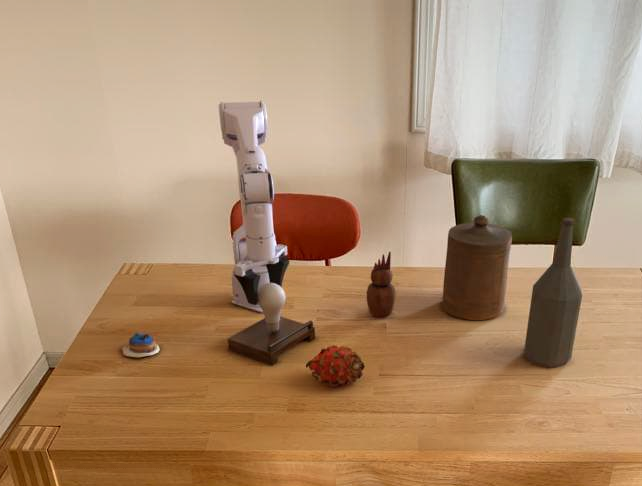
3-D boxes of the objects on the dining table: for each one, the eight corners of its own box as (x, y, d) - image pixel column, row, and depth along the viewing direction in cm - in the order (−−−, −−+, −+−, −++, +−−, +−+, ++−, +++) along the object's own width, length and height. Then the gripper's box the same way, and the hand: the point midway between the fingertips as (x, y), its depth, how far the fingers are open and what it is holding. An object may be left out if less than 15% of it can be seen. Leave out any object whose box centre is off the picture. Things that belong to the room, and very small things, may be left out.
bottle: (575, 352, 173) (600, 215, 155) (564, 372, 166) (589, 231, 148) (530, 342, 176) (549, 207, 159) (517, 361, 169) (535, 222, 151)
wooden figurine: (396, 309, 189) (398, 248, 180) (394, 320, 184) (395, 258, 175) (368, 308, 189) (368, 246, 180) (365, 318, 184) (365, 256, 175)
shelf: (228, 350, 171) (226, 331, 168) (273, 324, 181) (271, 307, 178) (271, 365, 166) (270, 346, 163) (315, 338, 176) (314, 320, 173)
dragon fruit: (368, 393, 160) (311, 395, 162) (370, 355, 163) (314, 358, 165) (359, 376, 152) (299, 378, 155) (361, 336, 155) (302, 339, 157)
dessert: (167, 348, 169) (148, 331, 164) (149, 372, 168) (129, 357, 164) (148, 337, 174) (129, 321, 169) (130, 361, 173) (111, 346, 168)
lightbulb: (292, 328, 173) (289, 280, 167) (280, 340, 169) (277, 291, 162) (267, 323, 175) (263, 276, 168) (254, 335, 170) (250, 287, 164)
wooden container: (514, 304, 193) (525, 213, 179) (486, 326, 182) (496, 232, 169) (460, 289, 199) (467, 201, 186) (430, 310, 189) (435, 218, 176)
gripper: (251, 249, 153) (256, 314, 161) (297, 228, 163) (300, 290, 171) (223, 241, 156) (230, 305, 164) (270, 221, 166) (274, 282, 174)
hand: (264, 297), depth 168 cm, fingers open, 7 cm apart
